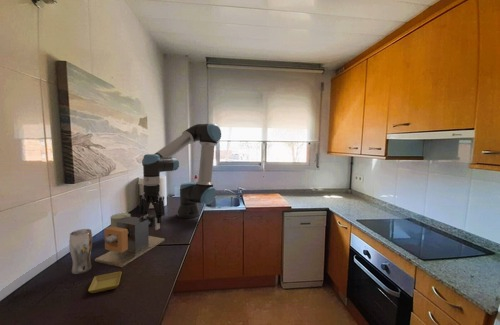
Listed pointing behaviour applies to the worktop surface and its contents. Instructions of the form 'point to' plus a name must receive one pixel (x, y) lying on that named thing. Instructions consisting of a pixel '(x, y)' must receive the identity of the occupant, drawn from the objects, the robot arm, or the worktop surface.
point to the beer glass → (81, 250)
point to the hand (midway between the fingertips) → (151, 228)
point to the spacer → (122, 239)
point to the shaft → (114, 237)
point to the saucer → (105, 282)
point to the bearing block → (131, 242)
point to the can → (118, 218)
